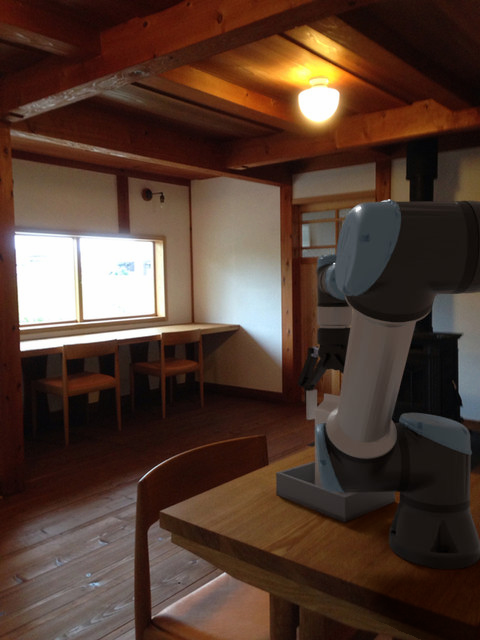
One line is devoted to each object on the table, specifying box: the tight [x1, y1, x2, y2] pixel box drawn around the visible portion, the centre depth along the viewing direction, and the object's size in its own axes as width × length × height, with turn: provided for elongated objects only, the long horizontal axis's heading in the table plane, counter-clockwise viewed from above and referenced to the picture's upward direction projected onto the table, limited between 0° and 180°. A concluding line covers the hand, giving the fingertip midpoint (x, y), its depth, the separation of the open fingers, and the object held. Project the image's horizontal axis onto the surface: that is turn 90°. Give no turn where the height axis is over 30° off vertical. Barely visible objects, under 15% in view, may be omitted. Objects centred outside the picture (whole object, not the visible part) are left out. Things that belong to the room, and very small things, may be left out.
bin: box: [275, 460, 396, 523], centre depth 121 cm, size 20×17×5 cm
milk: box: [314, 393, 352, 495], centre depth 120 cm, size 6×6×22 cm
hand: (334, 424), depth 120 cm, fingers open, 13 cm apart
